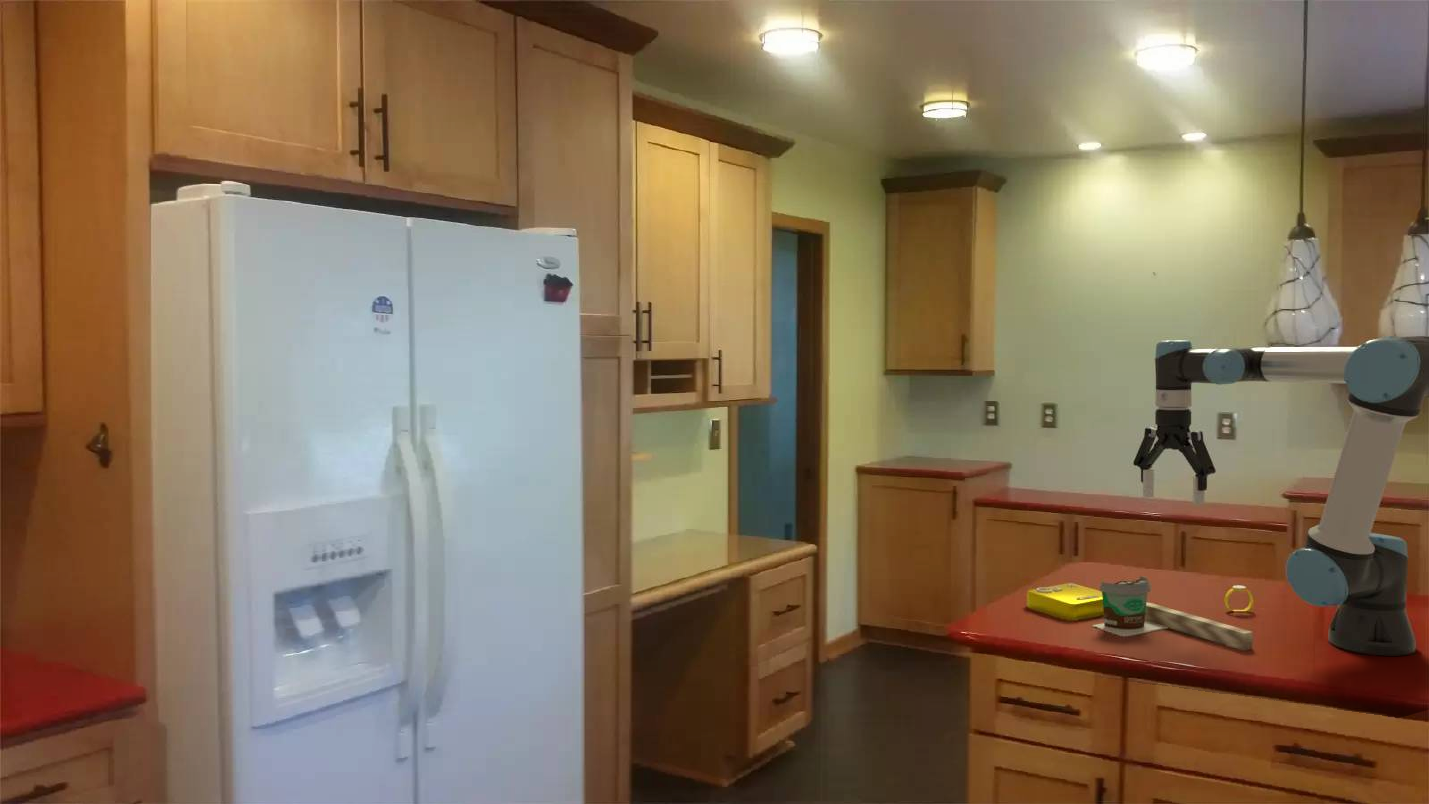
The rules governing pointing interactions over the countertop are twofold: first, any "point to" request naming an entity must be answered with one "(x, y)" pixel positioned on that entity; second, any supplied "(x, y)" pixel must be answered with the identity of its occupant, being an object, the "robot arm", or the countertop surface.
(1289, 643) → the countertop surface
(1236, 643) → the maple straightedge
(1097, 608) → the element tile
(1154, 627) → the plate
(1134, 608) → the food container
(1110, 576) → the countertop surface
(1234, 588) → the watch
